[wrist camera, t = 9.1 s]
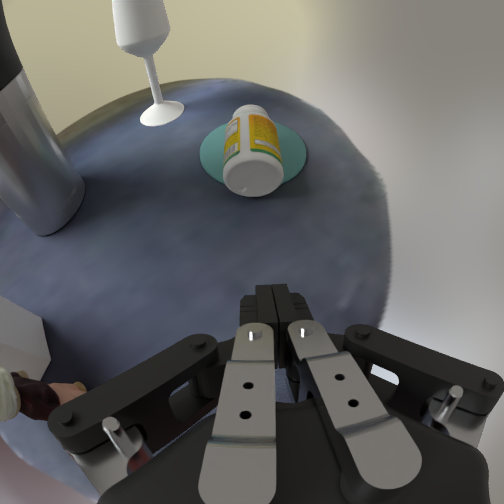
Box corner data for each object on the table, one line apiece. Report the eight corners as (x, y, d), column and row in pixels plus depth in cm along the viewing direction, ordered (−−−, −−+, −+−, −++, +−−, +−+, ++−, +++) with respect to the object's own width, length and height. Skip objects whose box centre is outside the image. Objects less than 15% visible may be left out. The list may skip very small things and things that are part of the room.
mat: (180, 172, 28) (179, 169, 28) (228, 114, 33) (228, 111, 33) (286, 204, 26) (287, 202, 25) (316, 135, 31) (317, 133, 31)
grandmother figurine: (59, 412, 16) (-53, 400, 5) (60, 373, 18) (-51, 339, 7) (131, 434, 16) (17, 458, 5) (132, 390, 18) (14, 376, 7)
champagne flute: (137, 131, 32) (93, -27, 11) (142, 107, 35) (108, -29, 14) (185, 119, 33) (157, -47, 12) (183, 97, 36) (162, -44, 15)
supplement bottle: (213, 166, 22) (218, 106, 26) (234, 203, 26) (234, 141, 31) (278, 151, 20) (267, 94, 25) (289, 192, 25) (278, 131, 29)
